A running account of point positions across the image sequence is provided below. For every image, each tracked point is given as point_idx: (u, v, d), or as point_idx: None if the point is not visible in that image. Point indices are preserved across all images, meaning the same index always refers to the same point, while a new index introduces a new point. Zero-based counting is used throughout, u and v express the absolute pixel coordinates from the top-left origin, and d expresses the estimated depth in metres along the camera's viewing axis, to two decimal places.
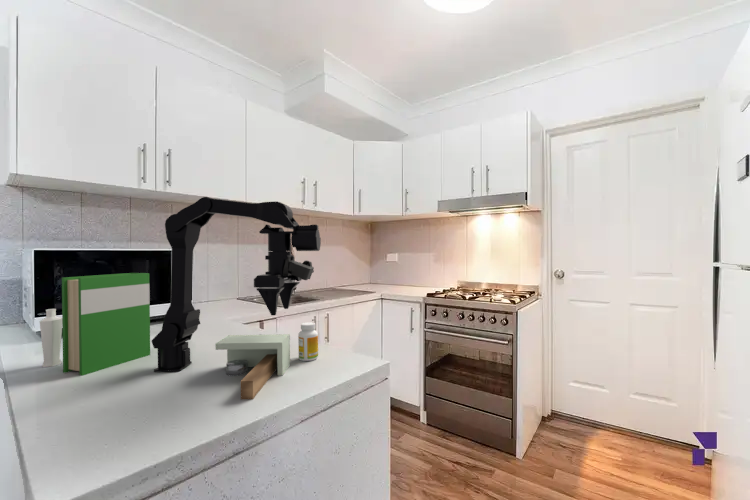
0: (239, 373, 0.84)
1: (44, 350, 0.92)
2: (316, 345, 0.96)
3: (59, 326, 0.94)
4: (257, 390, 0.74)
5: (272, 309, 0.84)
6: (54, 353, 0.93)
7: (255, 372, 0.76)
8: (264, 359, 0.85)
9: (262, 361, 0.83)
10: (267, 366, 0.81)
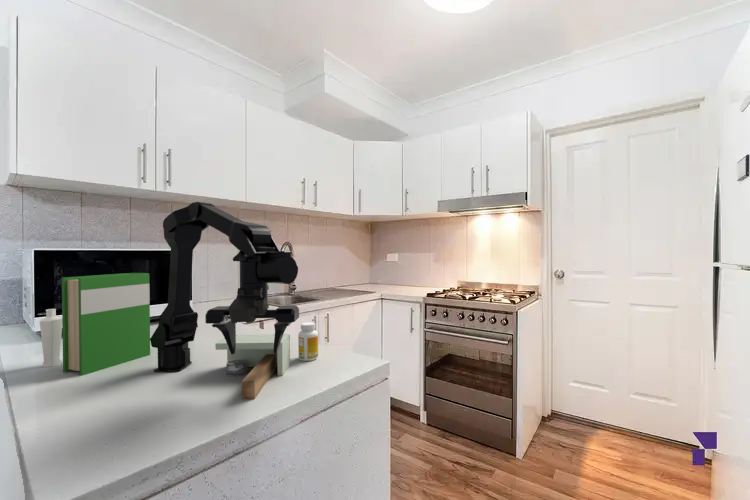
0: (239, 373, 0.84)
1: (44, 350, 0.92)
2: (316, 345, 0.96)
3: (59, 326, 0.94)
4: (258, 390, 0.74)
5: None
6: (54, 353, 0.93)
7: (255, 372, 0.76)
8: (263, 359, 0.84)
9: (261, 361, 0.83)
10: (267, 365, 0.81)
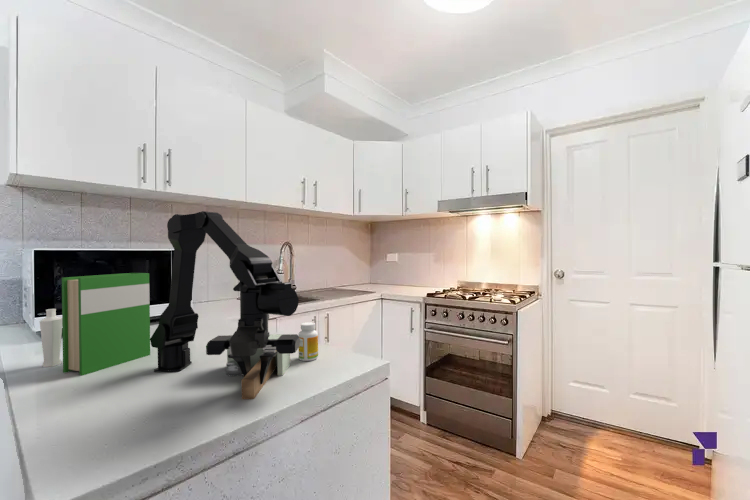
0: (239, 373, 0.84)
1: (44, 350, 0.92)
2: (316, 345, 0.96)
3: (59, 326, 0.94)
4: (258, 389, 0.74)
5: None
6: (54, 353, 0.93)
7: (255, 371, 0.76)
8: None
9: None
10: None
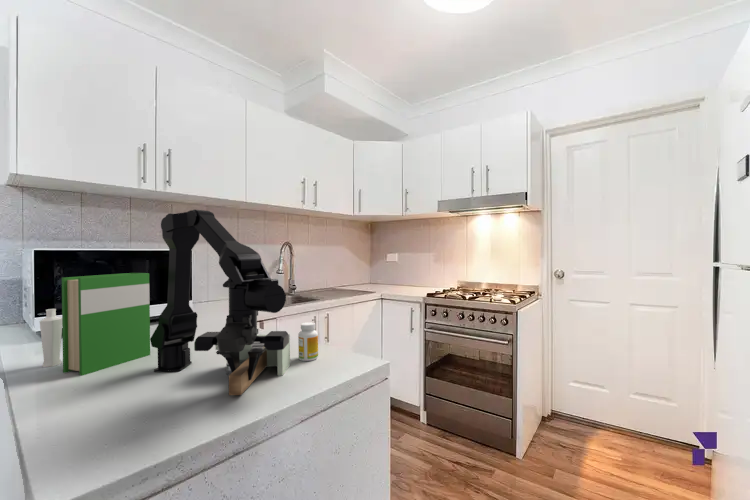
0: None
1: (44, 350, 0.92)
2: (316, 345, 0.96)
3: (59, 326, 0.94)
4: (246, 385, 0.74)
5: None
6: (54, 353, 0.93)
7: (244, 367, 0.76)
8: None
9: None
10: None
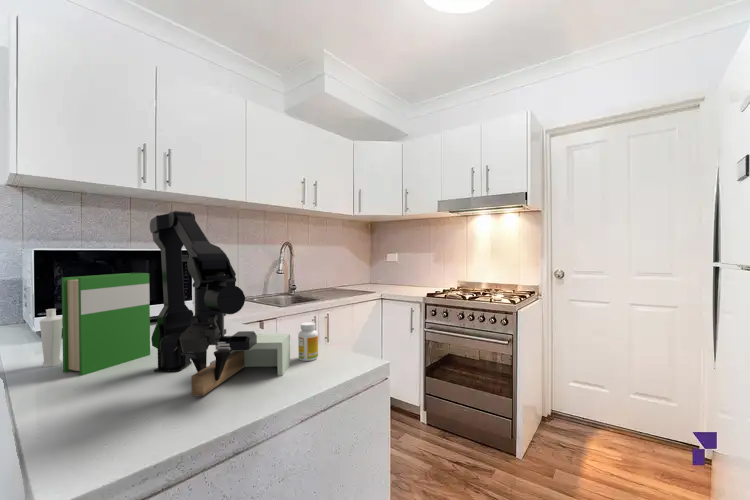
0: None
1: (44, 350, 0.92)
2: (316, 345, 0.96)
3: (59, 326, 0.94)
4: (211, 385, 0.73)
5: None
6: (54, 353, 0.93)
7: (211, 367, 0.76)
8: None
9: None
10: (228, 362, 0.81)
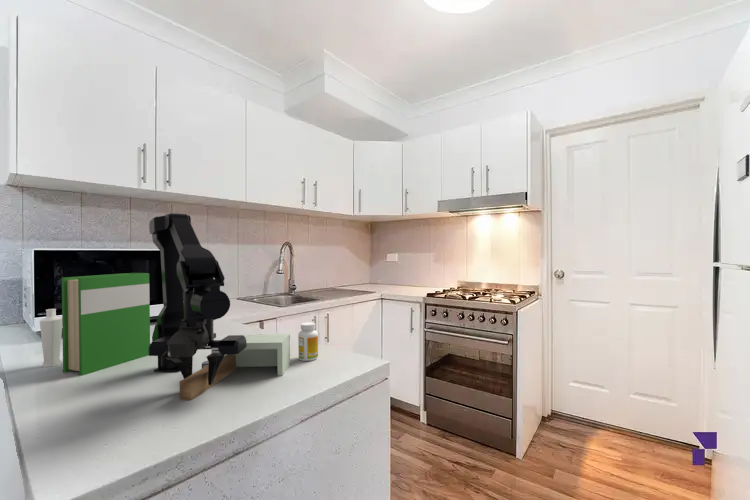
0: None
1: (44, 350, 0.92)
2: (316, 345, 0.96)
3: (59, 326, 0.94)
4: (199, 391, 0.73)
5: None
6: (54, 353, 0.93)
7: (200, 372, 0.76)
8: None
9: None
10: None
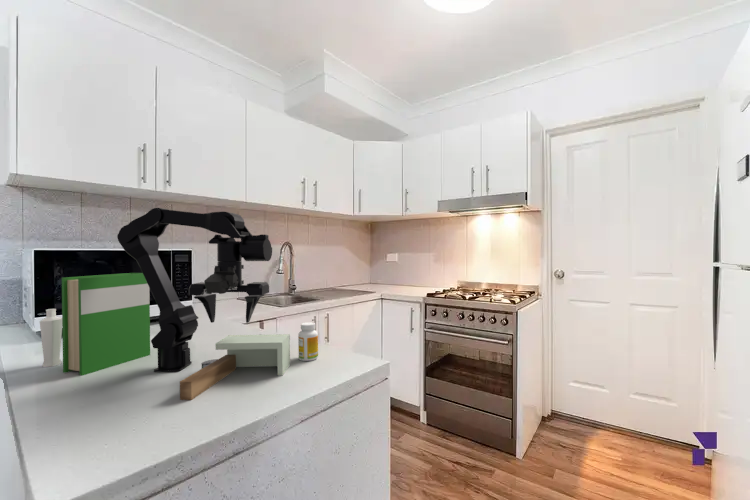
0: None
1: (44, 350, 0.92)
2: (316, 345, 0.96)
3: (59, 326, 0.94)
4: (199, 391, 0.73)
5: None
6: (54, 353, 0.93)
7: (200, 372, 0.76)
8: (219, 359, 0.85)
9: (216, 361, 0.83)
10: (219, 366, 0.81)
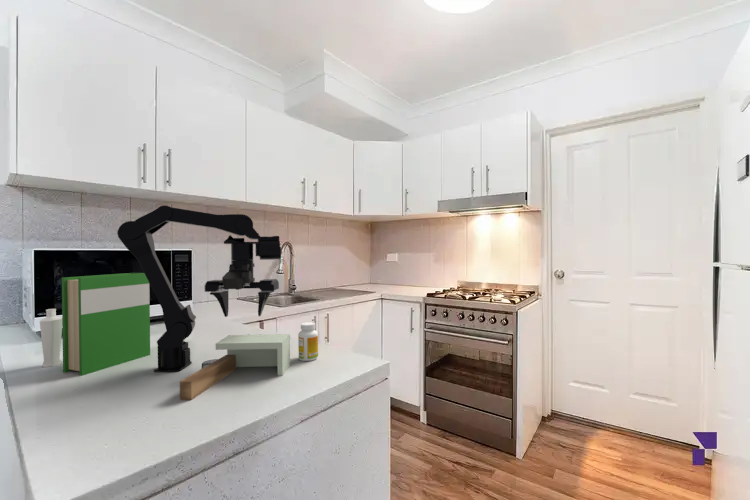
0: None
1: (44, 350, 0.92)
2: (316, 345, 0.96)
3: (59, 326, 0.94)
4: (199, 391, 0.73)
5: None
6: (54, 353, 0.93)
7: (200, 372, 0.76)
8: (219, 359, 0.85)
9: (216, 361, 0.83)
10: (219, 366, 0.81)
